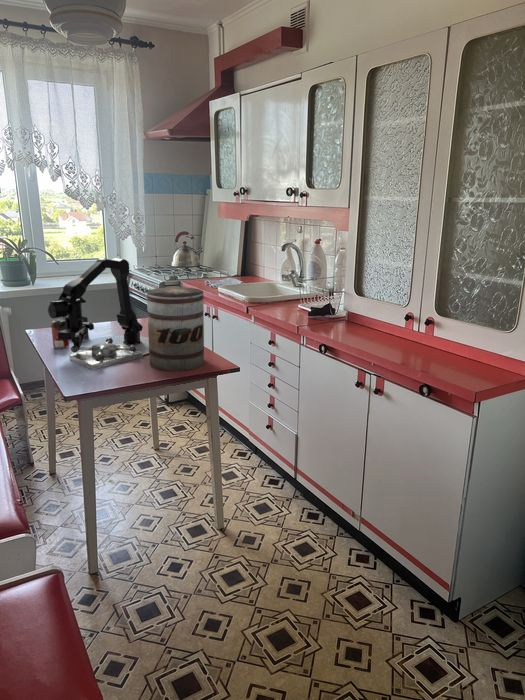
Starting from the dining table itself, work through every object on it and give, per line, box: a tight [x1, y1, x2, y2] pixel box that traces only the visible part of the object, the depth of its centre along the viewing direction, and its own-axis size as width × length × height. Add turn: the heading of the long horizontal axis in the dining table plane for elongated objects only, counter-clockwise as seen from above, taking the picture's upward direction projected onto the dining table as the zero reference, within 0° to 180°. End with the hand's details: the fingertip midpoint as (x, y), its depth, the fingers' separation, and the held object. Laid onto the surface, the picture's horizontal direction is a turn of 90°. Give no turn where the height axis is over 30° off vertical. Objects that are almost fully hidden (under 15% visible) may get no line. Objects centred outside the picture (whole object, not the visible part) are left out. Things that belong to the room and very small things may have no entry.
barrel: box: [146, 286, 205, 373], centre depth 216 cm, size 22×22×30 cm
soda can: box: [50, 319, 70, 349], centre depth 236 cm, size 7×7×12 cm
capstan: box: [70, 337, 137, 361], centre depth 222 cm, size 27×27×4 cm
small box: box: [62, 315, 90, 340], centre depth 252 cm, size 11×6×10 cm, turn 58°
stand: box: [68, 343, 144, 370], centre depth 224 cm, size 24×18×2 cm
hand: (77, 350), depth 224 cm, fingers closed
